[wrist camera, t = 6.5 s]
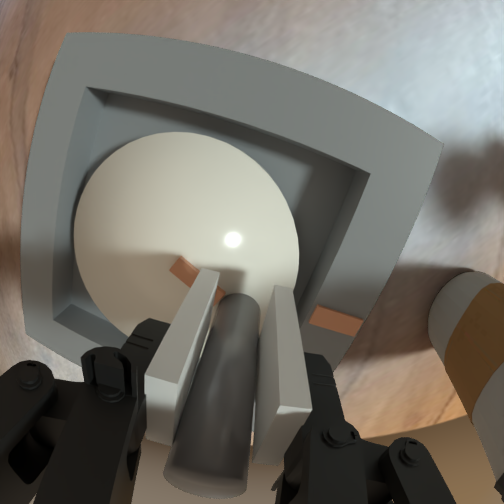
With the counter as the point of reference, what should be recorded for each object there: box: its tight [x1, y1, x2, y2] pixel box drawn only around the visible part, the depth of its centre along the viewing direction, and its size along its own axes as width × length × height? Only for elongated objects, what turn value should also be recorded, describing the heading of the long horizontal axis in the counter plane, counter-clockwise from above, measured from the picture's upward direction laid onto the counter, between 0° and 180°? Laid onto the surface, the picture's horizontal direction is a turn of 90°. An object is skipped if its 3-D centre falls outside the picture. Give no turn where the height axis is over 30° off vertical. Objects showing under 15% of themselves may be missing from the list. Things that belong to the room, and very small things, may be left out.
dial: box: [74, 132, 299, 499], centre depth 10 cm, size 12×12×11 cm
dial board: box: [20, 32, 444, 432], centre depth 15 cm, size 20×20×3 cm
